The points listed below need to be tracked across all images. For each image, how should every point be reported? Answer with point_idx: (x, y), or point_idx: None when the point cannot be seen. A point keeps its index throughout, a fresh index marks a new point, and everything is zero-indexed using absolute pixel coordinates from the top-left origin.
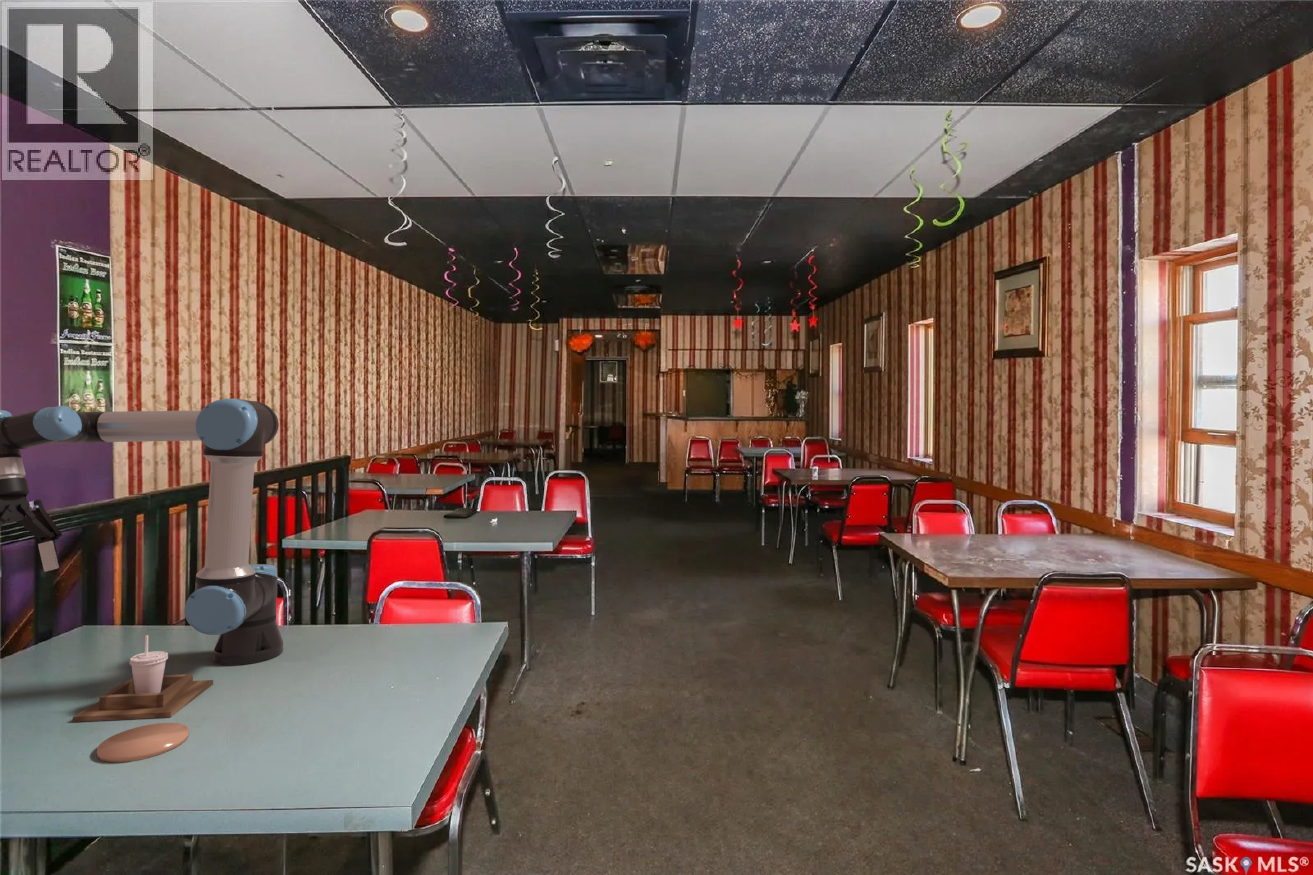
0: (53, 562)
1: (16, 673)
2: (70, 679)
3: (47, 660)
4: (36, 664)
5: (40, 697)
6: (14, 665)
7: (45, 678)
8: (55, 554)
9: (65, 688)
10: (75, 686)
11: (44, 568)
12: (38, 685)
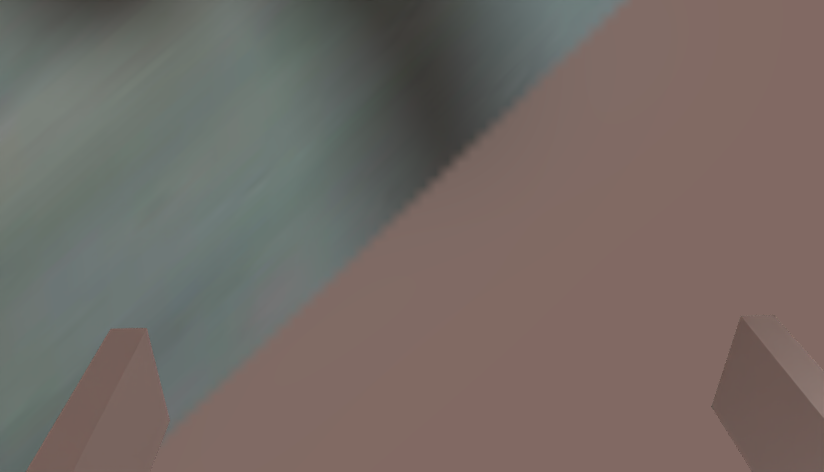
0: (123, 389)
1: (245, 339)
2: (289, 94)
3: None
4: None
5: (460, 54)
6: None
7: (285, 195)
8: (47, 448)
9: (376, 36)
10: (356, 14)
11: (157, 438)
12: (353, 159)
